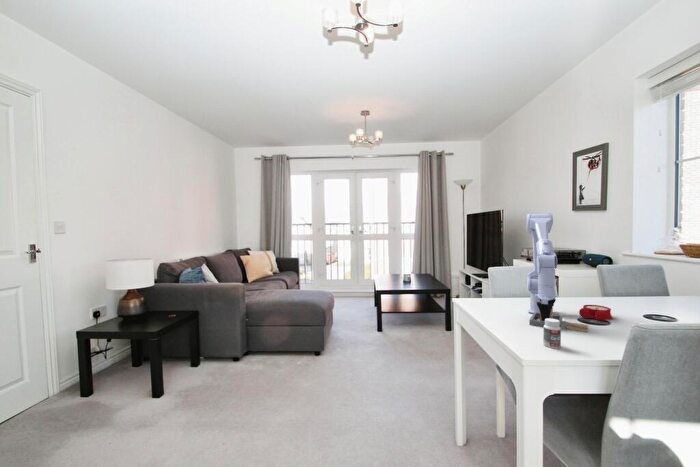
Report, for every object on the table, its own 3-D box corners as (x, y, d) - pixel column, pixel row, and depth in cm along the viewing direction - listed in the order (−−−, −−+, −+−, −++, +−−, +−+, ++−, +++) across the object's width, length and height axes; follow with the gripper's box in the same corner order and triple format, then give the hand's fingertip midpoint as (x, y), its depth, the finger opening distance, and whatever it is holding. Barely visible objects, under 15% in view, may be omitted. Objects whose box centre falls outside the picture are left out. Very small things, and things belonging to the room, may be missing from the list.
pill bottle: (552, 349, 101) (552, 322, 101) (539, 343, 106) (540, 318, 105) (564, 347, 102) (564, 321, 102) (551, 342, 107) (552, 317, 107)
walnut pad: (567, 323, 128) (567, 322, 128) (587, 325, 124) (587, 324, 124) (566, 329, 120) (566, 327, 120) (587, 332, 117) (587, 331, 117)
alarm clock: (615, 308, 137) (607, 306, 127) (614, 323, 136) (606, 322, 126) (586, 303, 145) (576, 301, 135) (584, 317, 144) (575, 316, 134)
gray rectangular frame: (534, 316, 136) (534, 312, 136) (562, 320, 130) (562, 315, 130) (529, 324, 126) (529, 319, 125) (560, 329, 120) (560, 324, 120)
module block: (541, 320, 131) (541, 306, 131) (552, 322, 128) (552, 307, 128) (539, 323, 128) (539, 308, 127) (551, 325, 125) (551, 309, 125)
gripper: (537, 280, 136) (537, 312, 136) (532, 286, 124) (532, 321, 125) (557, 282, 132) (556, 315, 132) (554, 288, 120) (553, 324, 120)
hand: (546, 318), depth 128 cm, fingers open, 7 cm apart
